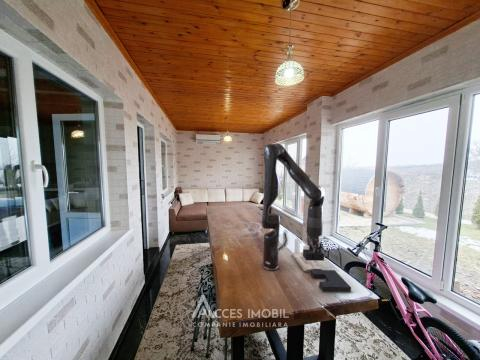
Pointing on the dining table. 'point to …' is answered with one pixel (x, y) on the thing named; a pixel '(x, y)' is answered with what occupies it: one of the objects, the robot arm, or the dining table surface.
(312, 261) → the newspaper
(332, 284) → the notched mat
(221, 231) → the dining table surface
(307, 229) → the robot arm
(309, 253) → the black pad
